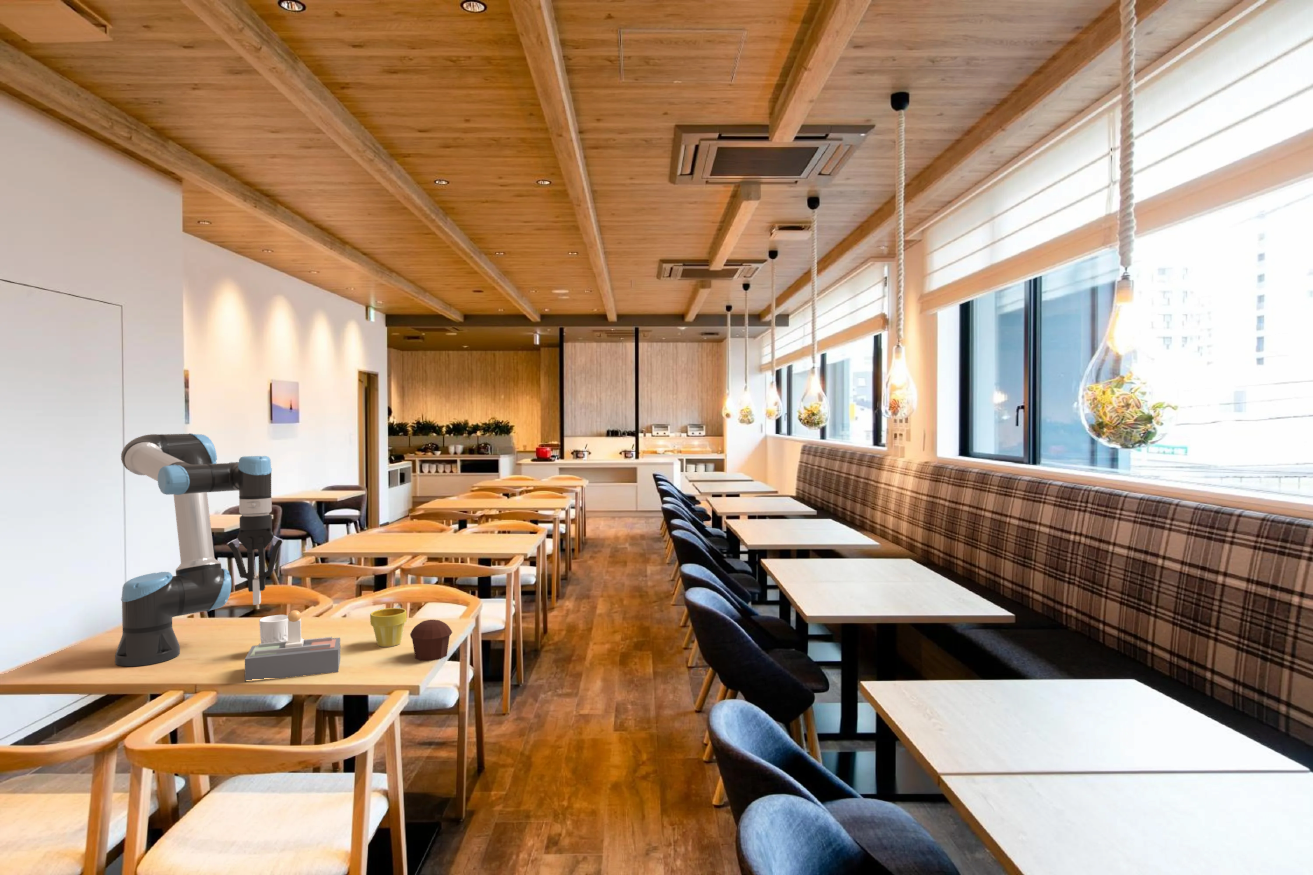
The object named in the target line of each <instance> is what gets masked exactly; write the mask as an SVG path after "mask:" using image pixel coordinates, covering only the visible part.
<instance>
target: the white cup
mask: <svg viewBox="0 0 1313 875" xmlns="http://www.w3.org/2000/svg"><path fill="white" fill-rule="evenodd" d="M259 633H260V634H259V637H260V644H263V643H273V642H284V641H287V640H288V614H287V615H286V614H276V615H268V616H263V617H262V618H260V619H259Z"/></svg>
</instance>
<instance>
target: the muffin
mask: <svg viewBox="0 0 1313 875" xmlns="http://www.w3.org/2000/svg"><path fill="white" fill-rule="evenodd" d="M452 634H453V630H452V629H451V626H449V625H448V624H447V623H446V622H444V621H443V620H440V619H439V620H438V619H426V620H423V621H421V622H419V623H417V624H416V625H415V626H414V628H412V630H411V632H410V633H409V635H410V638H411V641H412V645H413V647H412V648H413V652H414V658H415V659H416V660H419V661H421V662H422V661H428V662H431V661H438V660H441V659H444V658H446V657H447V656H448V650H449V649H448V647H449V642H450V636H451V635H452Z"/></svg>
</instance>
